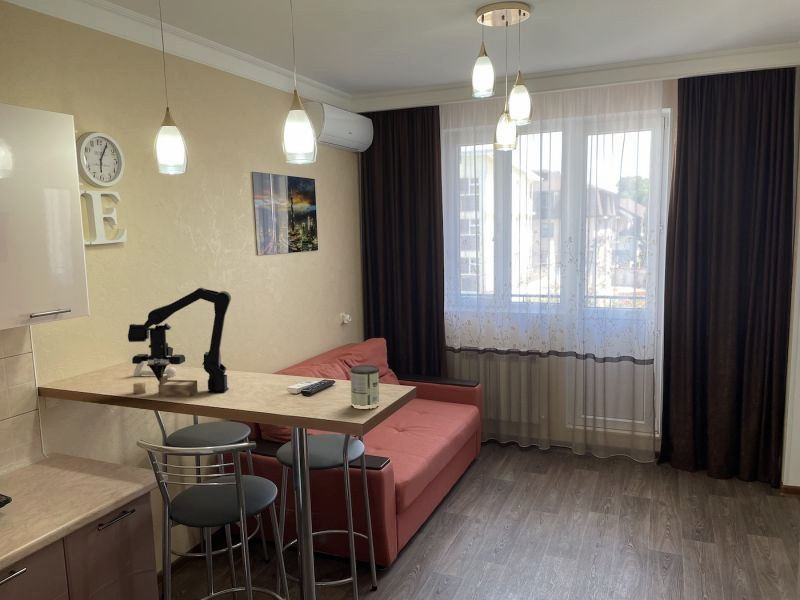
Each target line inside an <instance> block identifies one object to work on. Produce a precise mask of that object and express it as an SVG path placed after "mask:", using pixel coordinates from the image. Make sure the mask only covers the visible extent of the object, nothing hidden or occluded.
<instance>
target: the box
mask: <svg viewBox="0 0 800 600" xmlns="http://www.w3.org/2000/svg"><path fill="white" fill-rule="evenodd" d="M168 382H195V384H193V385H192V386H190V385H162V384H159V383H158V385H157V387H158V397H176V396H177V397H178V396H181V397H182V396H183V397H184V398H185V397H187V398H188V397H189V398H190V397H191V396H193V395H195V394H196V393H197V392H198V380H196V379H194V380H193V379H192V380H191V379H190V380H189V379H168ZM183 397H182V398H183ZM178 398H179V397H178Z"/></svg>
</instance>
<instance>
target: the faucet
mask: <svg viewBox="0 0 800 600" xmlns="http://www.w3.org/2000/svg"><path fill="white" fill-rule="evenodd" d="M145 363H146V361H142V362H141V363H140V364H135V365H136V366H135V368H134V370H133V376H135V377H138V376H140V377H141V376H155V374H154V372H153V371H152V370H151V368H149V369H147V368H146V369H144V366H145ZM163 375H166V376H168V378H175V377H177V370H176V368H175V367H173V366H170V367H168V368H167V369H165V371H164V374H163ZM174 376H175V377H174Z"/></svg>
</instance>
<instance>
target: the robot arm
mask: <svg viewBox="0 0 800 600" xmlns="http://www.w3.org/2000/svg"><path fill="white" fill-rule="evenodd" d="M199 300H203V301H206V302H209V303H212V304H213V305H214V306H213V310H214V319H213V326H212V330H211V332H212V333H211V337H210V338H211V339H210V343H209V344H210V345H209V349H208V351H205V353H203V362H202V364H201V365H202V366H203V370H204V371H205V373H207V374H208V375H209V376H208V379H207V393H210V394H211V393H216V394H217V393H219V394H222V393H223V394H224V393H225V392H228V391H229V389H230V387H228V374H225V373H226V371H227V367H226V366H225V365H224V364H223V363H222V362H221V361H222V357H221V356H222V355H221V343H222V339H223V338H222V337H223V333H224V332H223V331H224V325H225V319H226V314H227V312H228V310H229V306H230V304H231V301H232V296H231V295H230V293H229V292H228V291H225V290H221V291H216V290H212V289H207V288H204V287H198V288H196V290H194V291H193V292H190V293H189V294H187V295H185V296H183V297H181V298H179V299H176V301H173V302H172V303H169V304H166V305H162V306H160V307H157V308H154V309H153V310H151V311H150V312H148V314H147V319H146V321H145V322H144V323H143V324H142V323H141V324H136V323H135V324H134V323H131V324H129V326H128V333H127V339H128V342H129V343H145V342H146V341H147V340H148V339H149V342H150V343H149V345H148V348H149V349H150V355H149V353H138V354H136V355H133V357H132V358H131V362H132V364H133V365H134V364H135V365H137V364H140V363H141V362H142V361H145V362H147V364H146V366H147V367H149V369H151V370H152V371H153V372H154V374H155V375H154V377H155V378H156V380H157V381H158V382H159V379H160V378H162V377H164V375H165V374H164V371H165V370H166V368H167V366H168V365H181V364H183V363H185V362H186V356H185V355H184V354H174V348H173V347H171V346H169V344H168V342H167V333H166V331H168V330H169V331H170V330H171V329H172V326H171V325H169V324H168V323H167V322H165V321H166V320H168V318H169V317H171V316H172V315H174V314H175V313H176V312H179V311H180V310H183V308H186V307H188V306H189V305H191V304H194V303H196V302H197V301H199ZM164 322H165V323H164ZM162 323H164V324H163V325H162ZM152 326H155V327H152ZM173 354H174V355H173Z"/></svg>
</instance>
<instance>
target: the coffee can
mask: <svg viewBox="0 0 800 600" xmlns="http://www.w3.org/2000/svg"><path fill="white" fill-rule="evenodd" d="M379 371H380V367H378V366H377V365H371V364H370V365H369V364H363V365H362V364H360V365H354V366H352V367H350V392H351V393H350V395H351V397H350V398H351V400H350V402H351V403H352V404H354V405H360V406H366V405H373V404H377V403H378V402H379V403H380V399H379V398H380V395H379V394H380V393H379V392H380V391H379V390H380V384H379V383H380V380H379V378H380V375H379V374H380V373H379ZM351 403H350V404H351Z"/></svg>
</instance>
